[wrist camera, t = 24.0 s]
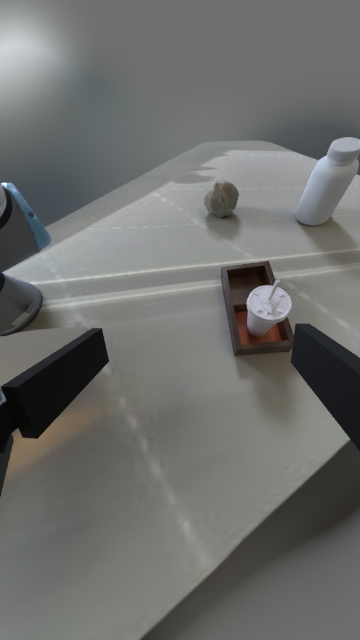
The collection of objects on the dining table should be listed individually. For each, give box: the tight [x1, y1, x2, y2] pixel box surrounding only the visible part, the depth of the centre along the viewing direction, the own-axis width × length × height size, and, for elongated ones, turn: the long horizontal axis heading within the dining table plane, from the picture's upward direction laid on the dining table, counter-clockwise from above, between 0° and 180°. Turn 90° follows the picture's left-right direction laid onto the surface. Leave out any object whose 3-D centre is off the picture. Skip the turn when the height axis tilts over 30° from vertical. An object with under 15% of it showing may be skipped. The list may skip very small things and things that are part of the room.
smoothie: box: [247, 279, 292, 337], centre depth 31 cm, size 6×6×14 cm
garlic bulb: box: [204, 179, 239, 218], centre depth 52 cm, size 9×8×10 cm
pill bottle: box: [296, 137, 360, 226], centre depth 43 cm, size 8×8×15 cm
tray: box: [221, 261, 294, 356], centre depth 39 cm, size 10×19×4 cm, turn 2°
